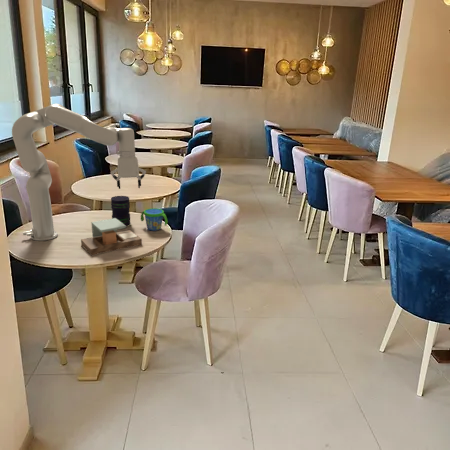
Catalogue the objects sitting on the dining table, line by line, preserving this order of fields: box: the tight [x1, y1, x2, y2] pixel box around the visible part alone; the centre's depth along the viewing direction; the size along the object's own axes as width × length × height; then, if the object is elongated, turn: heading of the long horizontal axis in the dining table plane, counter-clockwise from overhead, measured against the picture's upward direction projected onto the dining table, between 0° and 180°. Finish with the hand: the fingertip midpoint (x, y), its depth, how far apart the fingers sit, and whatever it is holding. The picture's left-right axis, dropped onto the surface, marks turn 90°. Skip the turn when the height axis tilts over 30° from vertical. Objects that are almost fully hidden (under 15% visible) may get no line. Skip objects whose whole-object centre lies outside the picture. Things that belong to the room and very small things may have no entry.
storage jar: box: [110, 195, 131, 227], centre depth 225 cm, size 10×10×15 cm
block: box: [102, 230, 117, 245], centre depth 198 cm, size 5×5×6 cm
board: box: [80, 229, 143, 256], centre depth 199 cm, size 25×14×3 cm, turn 126°
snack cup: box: [140, 207, 169, 232], centre depth 221 cm, size 16×10×10 cm
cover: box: [90, 218, 127, 237], centre depth 197 cm, size 12×13×8 cm
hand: (129, 187), depth 207 cm, fingers open, 9 cm apart
